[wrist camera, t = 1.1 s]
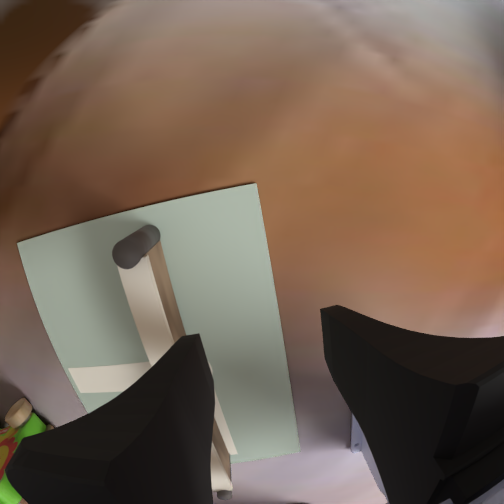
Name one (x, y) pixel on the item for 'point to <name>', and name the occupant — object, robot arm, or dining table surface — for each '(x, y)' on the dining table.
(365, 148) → the dining table surface
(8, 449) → the toy lion
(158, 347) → the hinged fence section
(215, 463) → the fixed fence section
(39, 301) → the card
